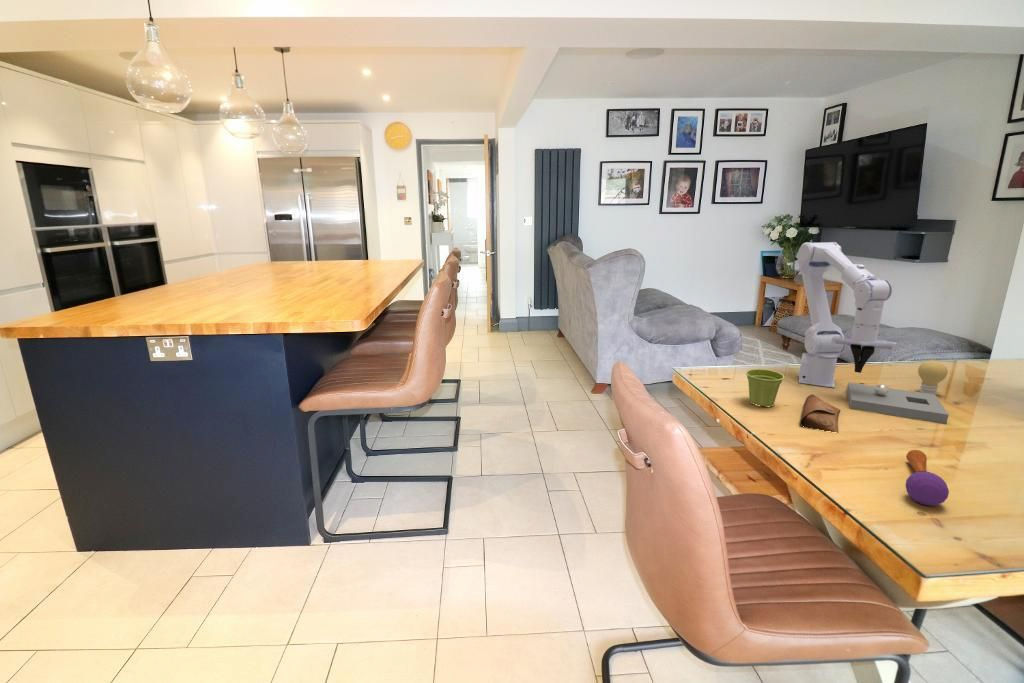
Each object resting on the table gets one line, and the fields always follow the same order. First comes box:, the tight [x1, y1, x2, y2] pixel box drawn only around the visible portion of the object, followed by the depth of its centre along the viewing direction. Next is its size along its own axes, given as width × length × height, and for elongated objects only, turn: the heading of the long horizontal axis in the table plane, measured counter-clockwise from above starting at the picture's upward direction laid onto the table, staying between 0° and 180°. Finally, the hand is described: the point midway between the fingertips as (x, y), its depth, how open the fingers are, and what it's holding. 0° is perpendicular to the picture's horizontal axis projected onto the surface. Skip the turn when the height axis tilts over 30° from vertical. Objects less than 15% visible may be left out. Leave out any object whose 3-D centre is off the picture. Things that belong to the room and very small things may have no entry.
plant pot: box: [745, 368, 785, 407], centre depth 134 cm, size 9×9×9 cm
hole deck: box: [846, 382, 949, 425], centre depth 132 cm, size 20×16×2 cm
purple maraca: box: [904, 449, 950, 506], centre depth 94 cm, size 6×6×20 cm
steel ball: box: [874, 383, 889, 396], centre depth 133 cm, size 3×3×3 cm
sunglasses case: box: [800, 394, 841, 434], centre depth 125 cm, size 18×7×7 cm, turn 147°
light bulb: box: [917, 360, 948, 395], centre depth 139 cm, size 6×6×10 cm
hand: (857, 371), depth 135 cm, fingers closed
